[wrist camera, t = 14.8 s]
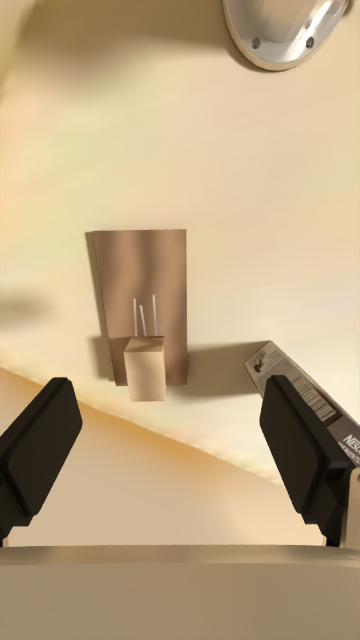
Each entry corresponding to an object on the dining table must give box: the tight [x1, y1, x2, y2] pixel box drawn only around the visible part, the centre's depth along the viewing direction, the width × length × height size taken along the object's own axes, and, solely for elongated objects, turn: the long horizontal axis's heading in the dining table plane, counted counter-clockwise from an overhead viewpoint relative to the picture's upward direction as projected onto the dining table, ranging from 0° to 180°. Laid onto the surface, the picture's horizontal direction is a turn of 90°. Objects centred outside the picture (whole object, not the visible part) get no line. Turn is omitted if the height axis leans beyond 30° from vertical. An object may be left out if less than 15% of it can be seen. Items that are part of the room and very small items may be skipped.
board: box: [93, 229, 187, 386], centre depth 31 cm, size 12×24×2 cm, turn 1°
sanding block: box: [124, 336, 166, 402], centre depth 31 cm, size 5×8×5 cm, turn 1°
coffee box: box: [244, 341, 360, 468], centre depth 28 cm, size 9×6×16 cm
